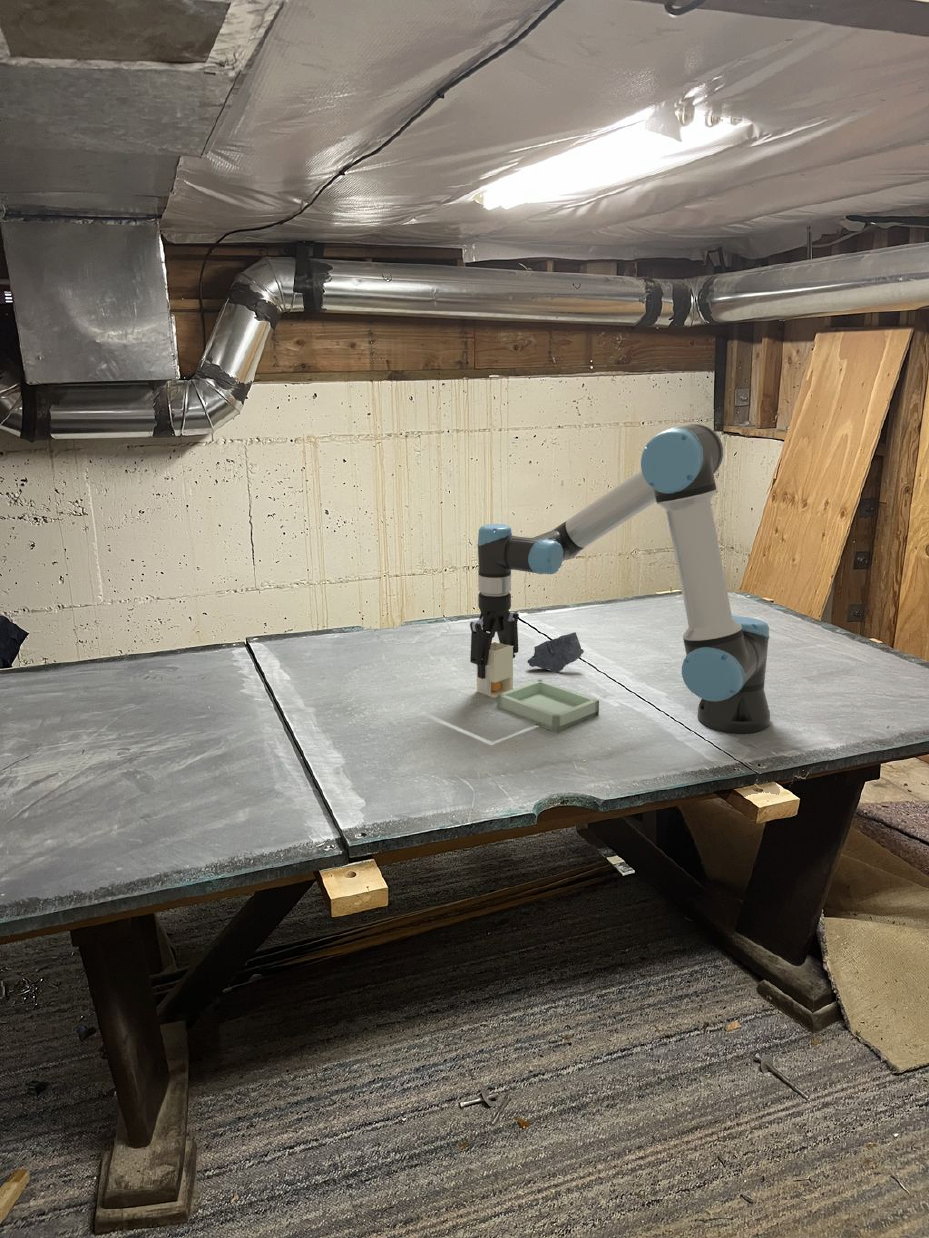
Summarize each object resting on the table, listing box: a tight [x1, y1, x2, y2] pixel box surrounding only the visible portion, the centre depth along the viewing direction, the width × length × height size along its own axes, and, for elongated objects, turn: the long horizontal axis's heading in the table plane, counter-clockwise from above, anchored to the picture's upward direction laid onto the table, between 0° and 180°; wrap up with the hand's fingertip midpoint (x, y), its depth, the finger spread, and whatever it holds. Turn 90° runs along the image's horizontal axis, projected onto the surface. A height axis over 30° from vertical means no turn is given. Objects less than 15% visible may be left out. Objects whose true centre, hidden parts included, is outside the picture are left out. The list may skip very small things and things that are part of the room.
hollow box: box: [476, 640, 514, 699], centre depth 211 cm, size 6×6×12 cm
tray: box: [496, 679, 600, 733], centre depth 201 cm, size 18×14×4 cm
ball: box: [491, 681, 501, 691], centre depth 212 cm, size 3×3×3 cm
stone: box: [527, 632, 585, 674], centre depth 226 cm, size 14×6×10 cm, turn 113°
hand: (494, 686), depth 212 cm, fingers closed on hollow box, 6 cm apart
